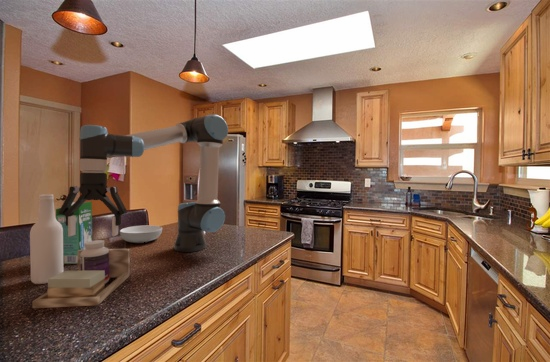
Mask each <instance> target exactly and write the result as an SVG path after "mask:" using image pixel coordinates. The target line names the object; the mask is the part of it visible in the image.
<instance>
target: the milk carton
mask: <svg viewBox="0 0 550 362" xmlns="http://www.w3.org/2000/svg"><path fill="white" fill-rule="evenodd" d="M75 202H76V201H73V202H72V204H71V206H72V205H73V204H74V203H75ZM71 206H70V207H71ZM60 209H61V207H59V208H55V218H56V220H57V221H58V222H59V223H60V224H61V225H62V228H63V265H71V264H72V265H73V264H74V265H76V264H77V265H78V250H85V249H86V248H85V243H86V242H89V241H93V203H92V200H90V201H85V202H84V203H83V204H82V205H81V206H80V207H79V208H78V209H77V211H76V212H75V213H74V215H76V235H73V236H68V226H66V217H65V215H62V214H59V211H60ZM69 209H70V208H69ZM72 216H73V215H72Z"/></svg>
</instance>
